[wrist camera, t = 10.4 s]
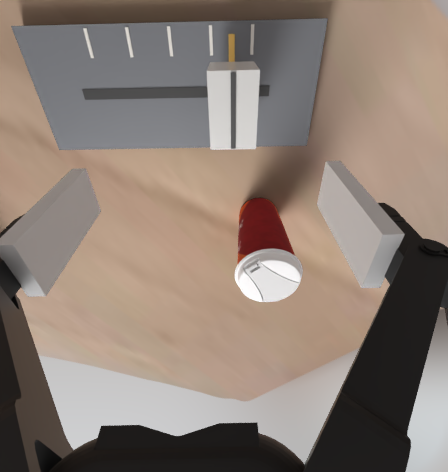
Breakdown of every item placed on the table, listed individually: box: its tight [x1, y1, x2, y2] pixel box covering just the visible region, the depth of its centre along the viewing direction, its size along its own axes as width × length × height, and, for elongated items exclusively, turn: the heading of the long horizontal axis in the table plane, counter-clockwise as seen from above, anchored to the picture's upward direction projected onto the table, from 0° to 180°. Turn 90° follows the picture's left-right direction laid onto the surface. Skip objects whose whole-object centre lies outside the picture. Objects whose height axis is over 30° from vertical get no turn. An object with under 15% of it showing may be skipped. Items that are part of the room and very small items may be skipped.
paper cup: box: [235, 198, 303, 302], centre depth 36 cm, size 8×8×14 cm
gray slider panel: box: [11, 18, 328, 150], centre depth 30 cm, size 30×12×2 cm, turn 91°
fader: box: [207, 61, 260, 150], centre depth 26 cm, size 4×6×9 cm, turn 1°
